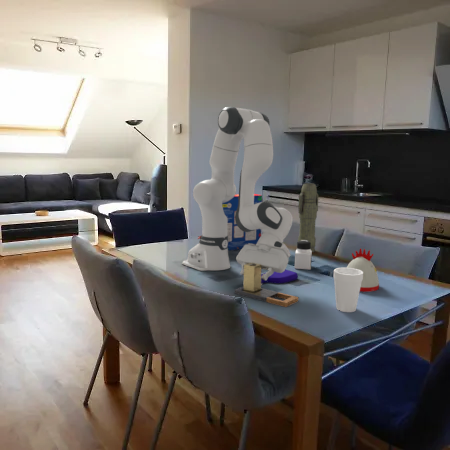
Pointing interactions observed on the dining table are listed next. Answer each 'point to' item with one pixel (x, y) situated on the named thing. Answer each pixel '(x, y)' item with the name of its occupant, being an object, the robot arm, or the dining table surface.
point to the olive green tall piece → (308, 213)
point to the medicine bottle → (303, 255)
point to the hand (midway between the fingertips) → (252, 276)
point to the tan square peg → (252, 277)
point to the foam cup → (347, 288)
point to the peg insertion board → (269, 296)
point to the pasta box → (234, 233)
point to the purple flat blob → (280, 277)
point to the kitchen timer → (365, 270)
